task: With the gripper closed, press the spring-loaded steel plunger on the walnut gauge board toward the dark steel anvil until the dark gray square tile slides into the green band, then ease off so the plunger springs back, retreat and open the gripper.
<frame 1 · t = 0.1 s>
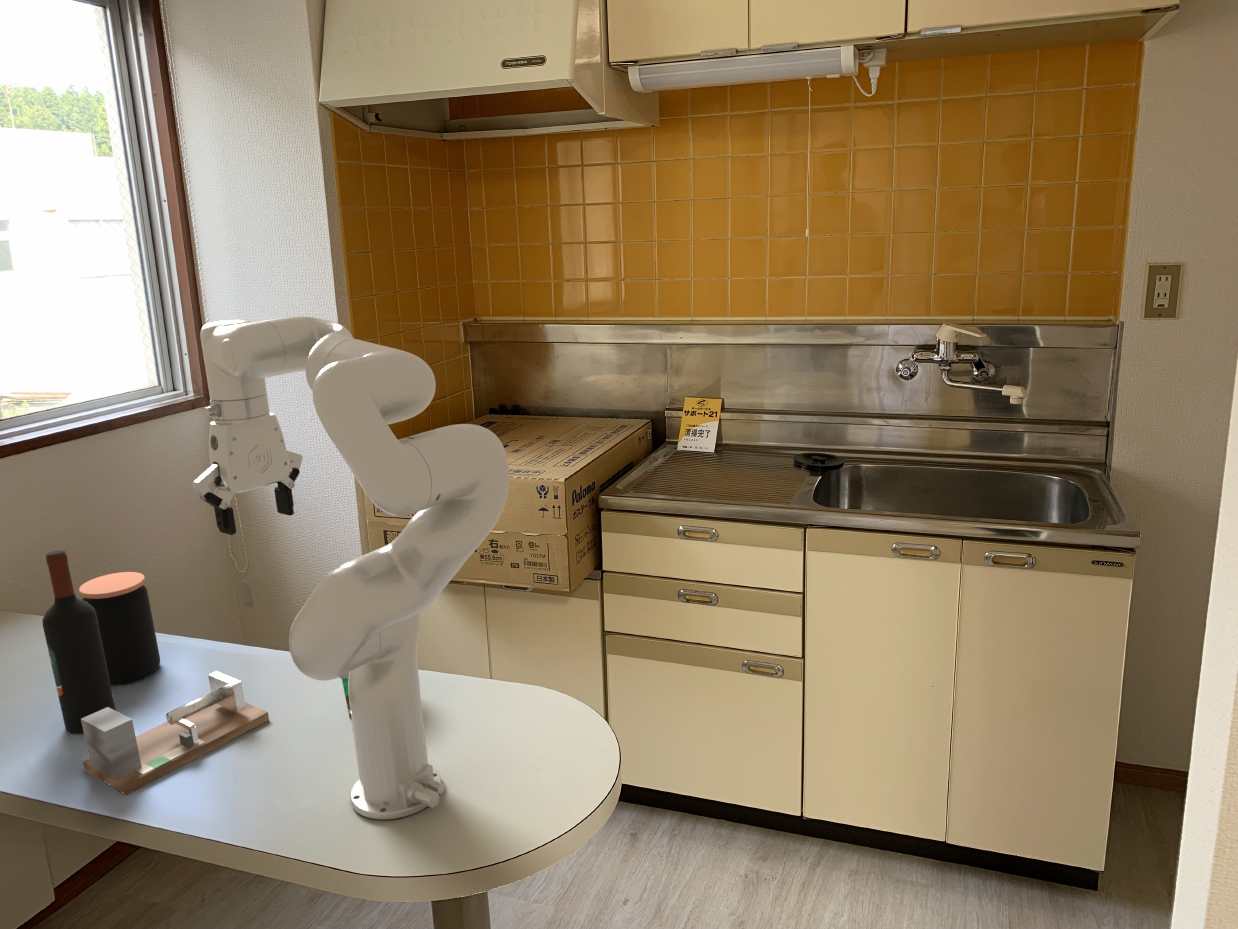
hand: (257, 523, 138), 37 cm above the table, tool pointing down, fingers open, 9 cm apart
plunger: (203, 705, 151), point 5 cm above the table, slide at 0.0 cm
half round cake: (379, 705, 159), on the table
dark gray square tile: (186, 739, 145), point 3 cm above the table, slide at 0.0 cm
wine bottle: (91, 723, 157), on the table
gauge board: (180, 744, 149), on the table
coffee jar: (130, 674, 174), on the table
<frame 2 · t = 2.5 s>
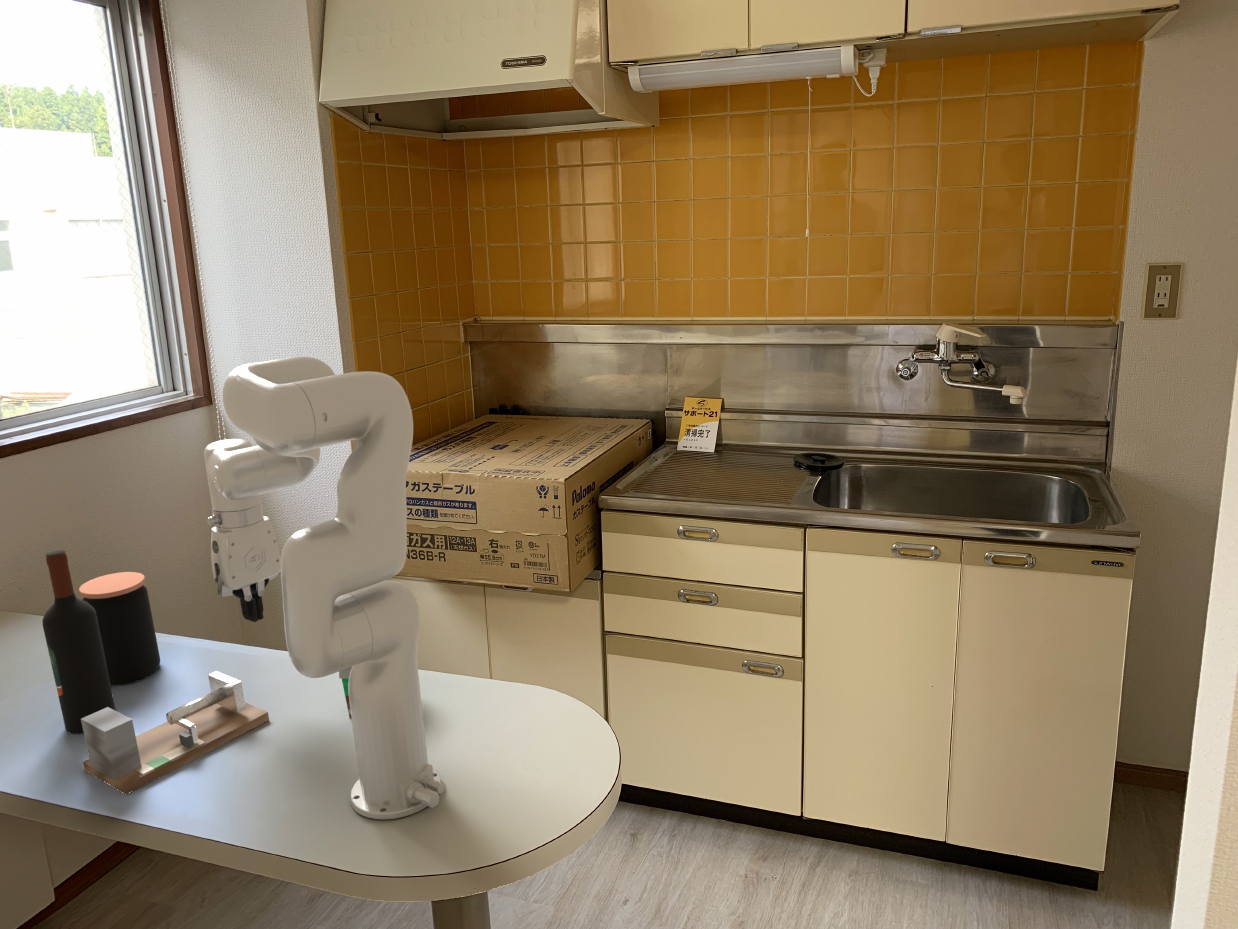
hand: (253, 618, 158), 15 cm above the table, tool pointing down, fingers closed
nothing on the table moved.
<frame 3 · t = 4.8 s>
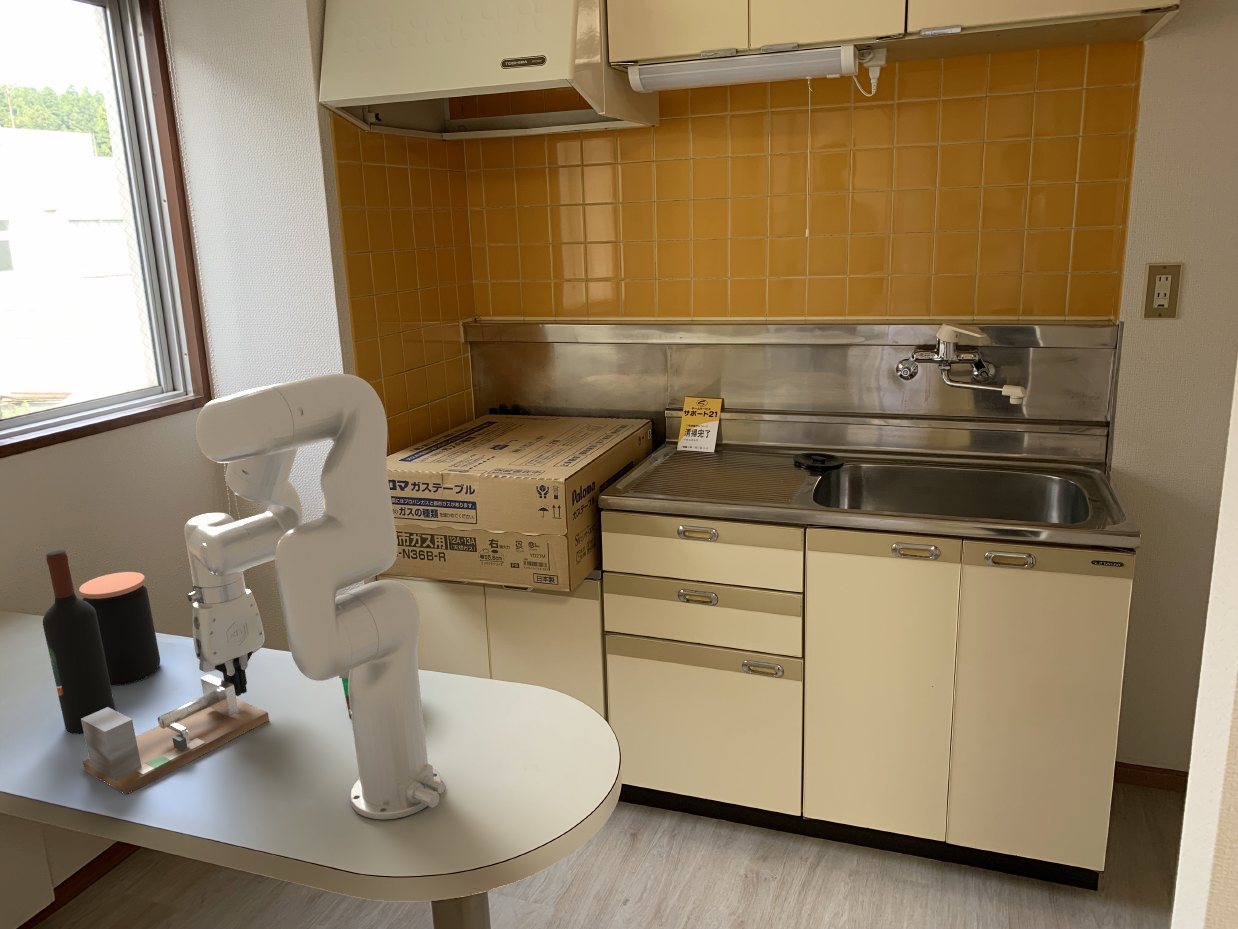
hand: (237, 692, 156), 4 cm above the table, tool pointing down, fingers closed
plunger: (195, 709, 150), point 5 cm above the table, slide at 1.4 cm, touching gripper, dark gray square tile
dark gray square tile: (179, 742, 144), point 3 cm above the table, slide at 1.1 cm, touching plunger
everything else where it was.
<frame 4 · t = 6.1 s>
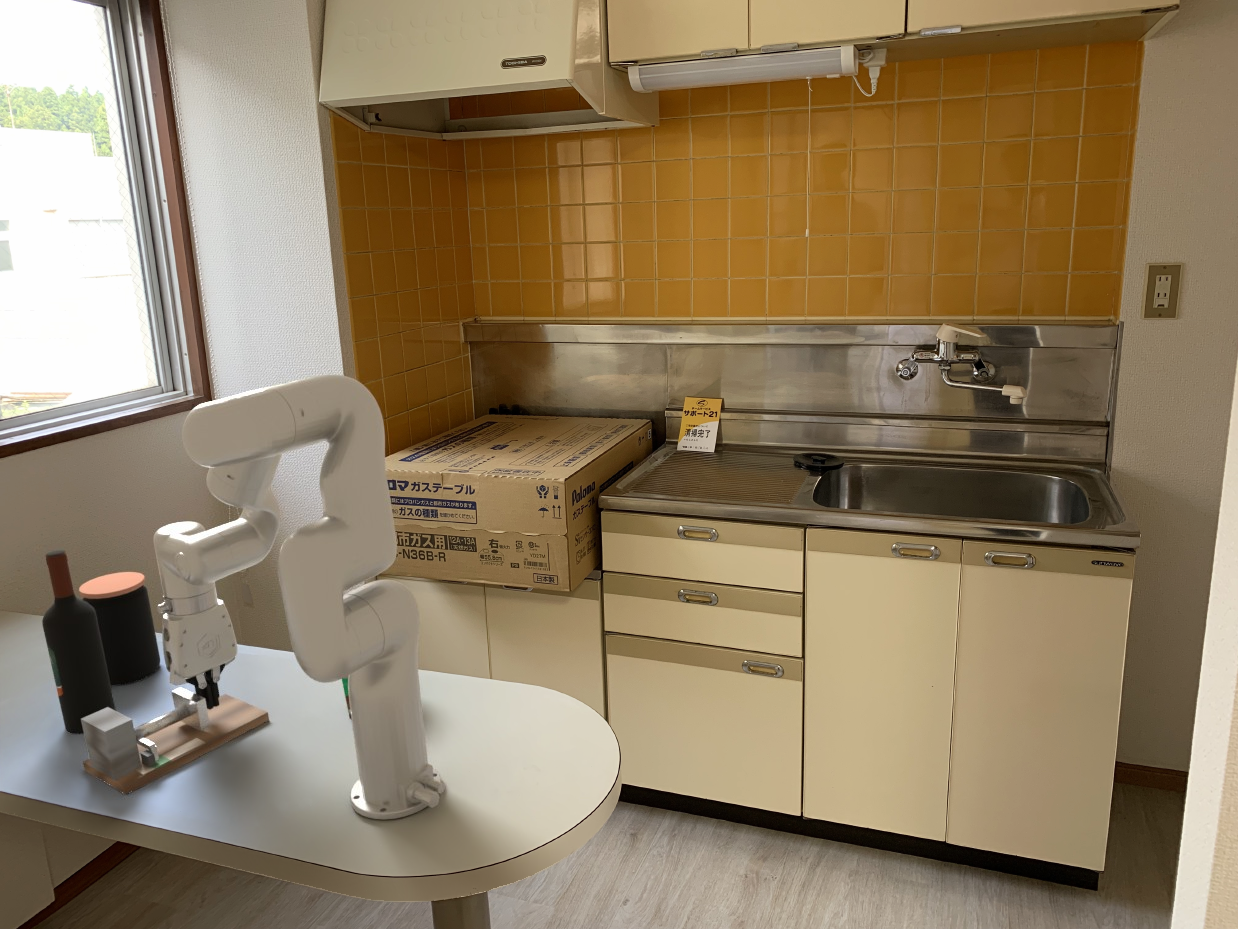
hand: (209, 705, 152), 4 cm above the table, tool pointing down, fingers closed
plunger: (165, 724, 146), point 5 cm above the table, slide at 6.4 cm, touching gripper, dark gray square tile
dark gray square tile: (148, 758, 140), point 3 cm above the table, slide at 6.1 cm, touching plunger
everything else where it was.
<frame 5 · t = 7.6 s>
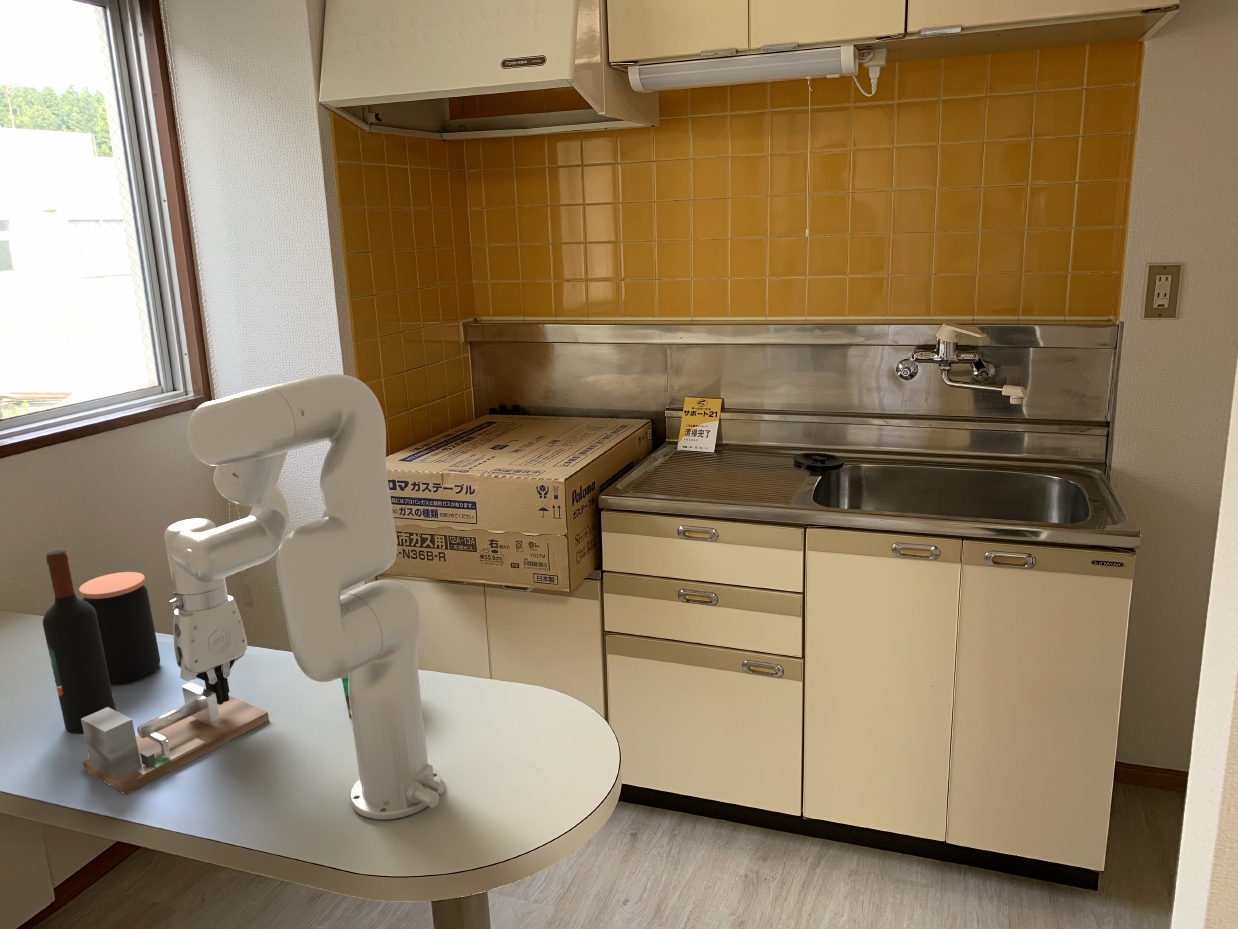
hand: (219, 700, 154), 4 cm above the table, tool pointing down, fingers closed
plunger: (176, 718, 147), point 5 cm above the table, slide at 4.6 cm, touching gripper
dark gray square tile: (148, 758, 140), point 3 cm above the table, slide at 6.1 cm
everything else where it was.
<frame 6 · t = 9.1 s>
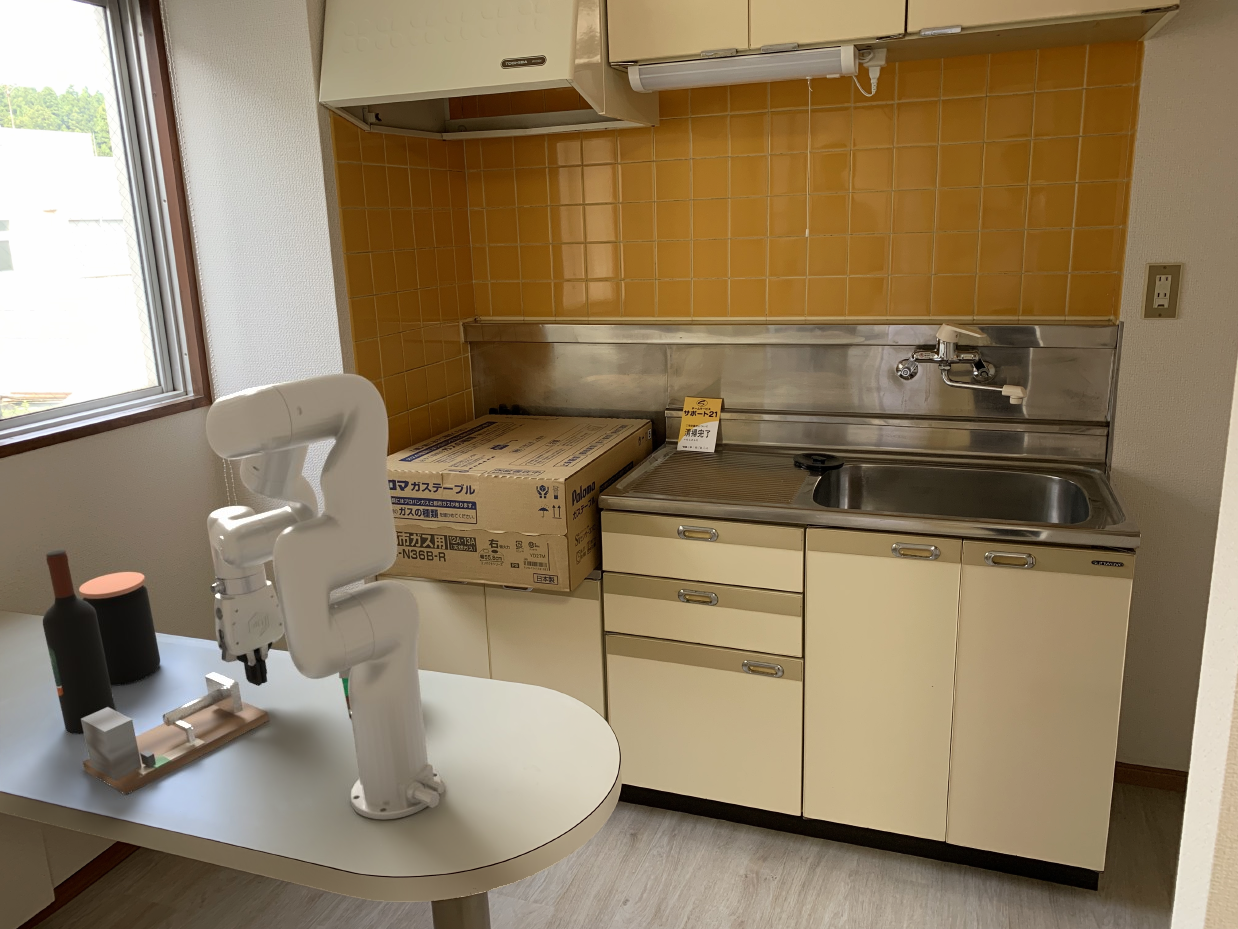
hand: (257, 682, 159), 4 cm above the table, tool pointing down, fingers closed
plunger: (200, 707, 150), point 5 cm above the table, slide at 0.5 cm
everything else where it was.
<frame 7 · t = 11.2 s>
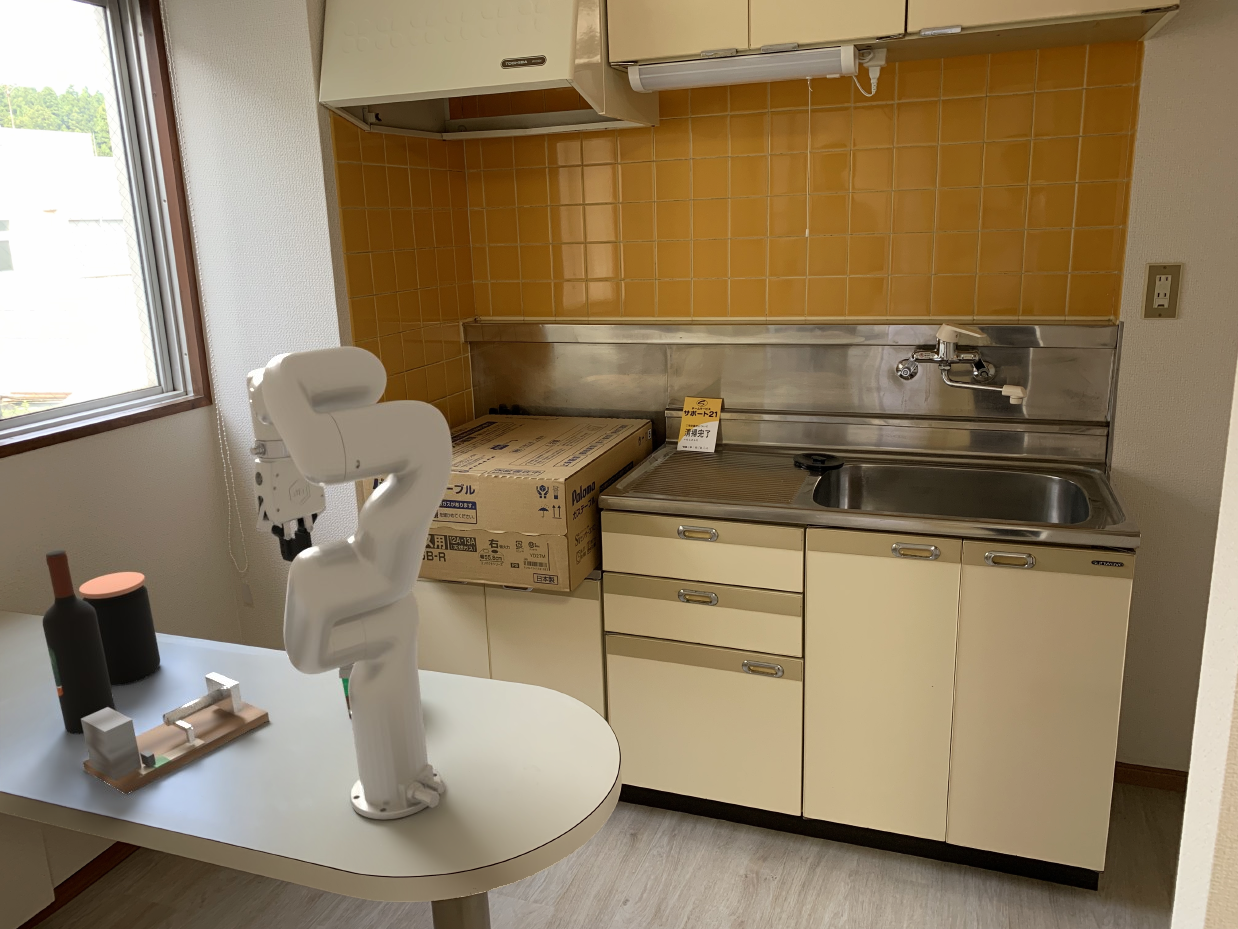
hand: (297, 557, 151), 27 cm above the table, tool pointing down, fingers closed
nothing on the table moved.
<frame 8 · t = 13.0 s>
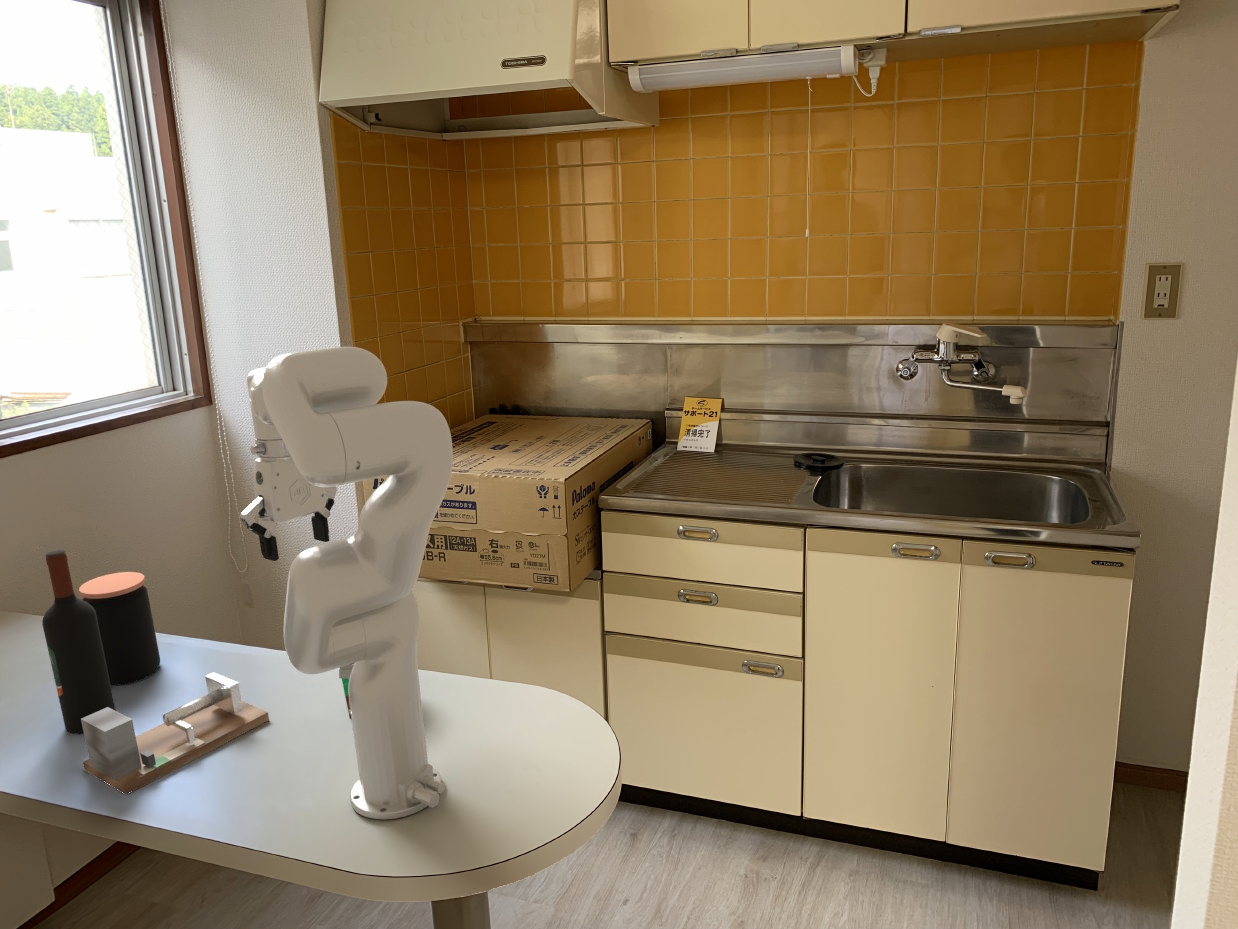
hand: (297, 549, 151), 28 cm above the table, tool pointing down, fingers open, 9 cm apart
nothing on the table moved.
at the end: dark gray square tile slide at 6.1 cm; plunger slide at 0.5 cm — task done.
